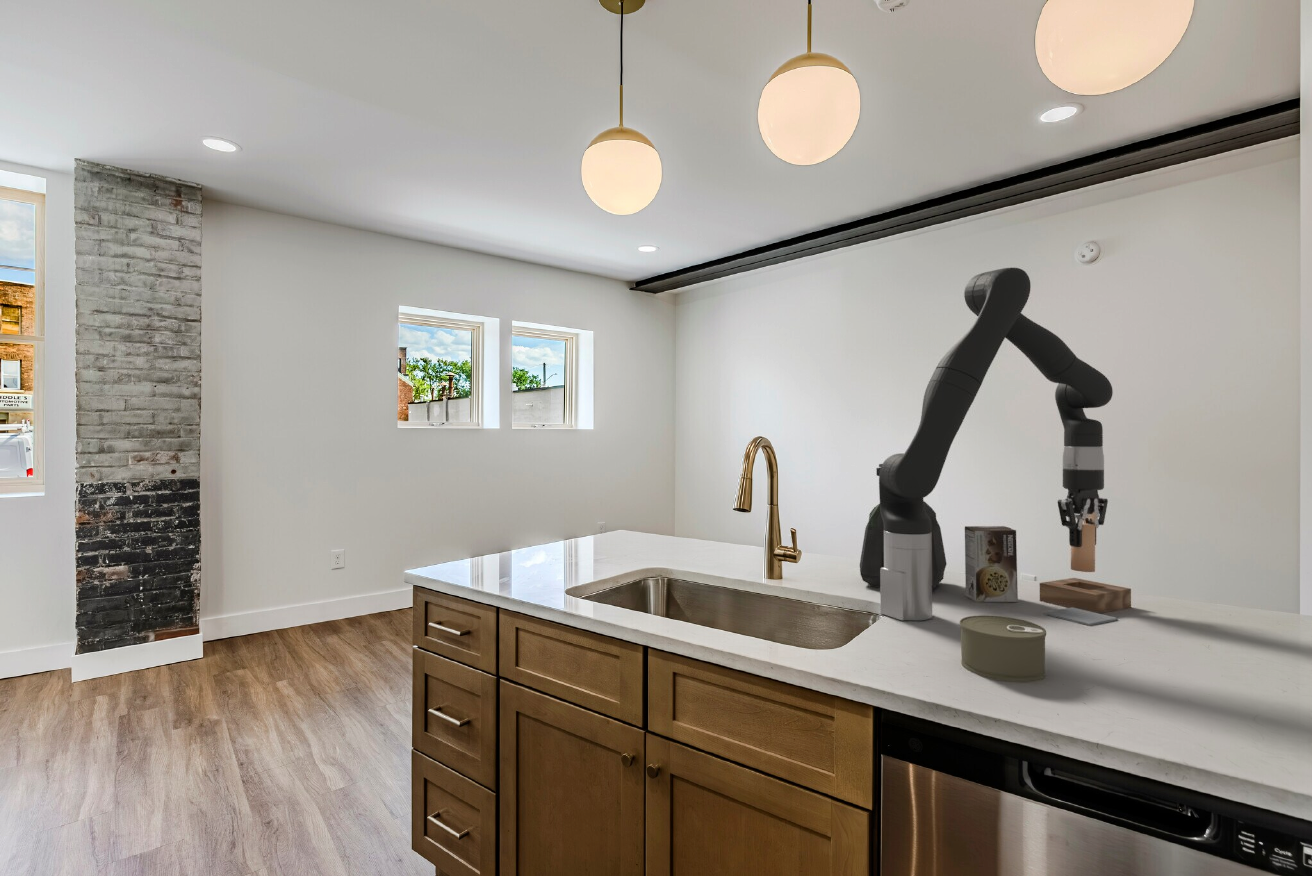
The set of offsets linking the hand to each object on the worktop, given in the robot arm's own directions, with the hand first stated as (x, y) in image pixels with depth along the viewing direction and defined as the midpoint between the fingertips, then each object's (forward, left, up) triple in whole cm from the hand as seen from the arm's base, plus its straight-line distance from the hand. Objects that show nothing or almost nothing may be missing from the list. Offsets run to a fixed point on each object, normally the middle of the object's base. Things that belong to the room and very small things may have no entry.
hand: (1082, 545), depth 139 cm
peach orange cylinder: (0, 0, -5) cm, 5 cm away
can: (-51, -19, -13) cm, 56 cm away
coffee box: (-14, +12, -13) cm, 22 cm away
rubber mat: (-11, -6, -13) cm, 18 cm away
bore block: (0, 0, -13) cm, 13 cm away
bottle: (-21, +31, -13) cm, 40 cm away
